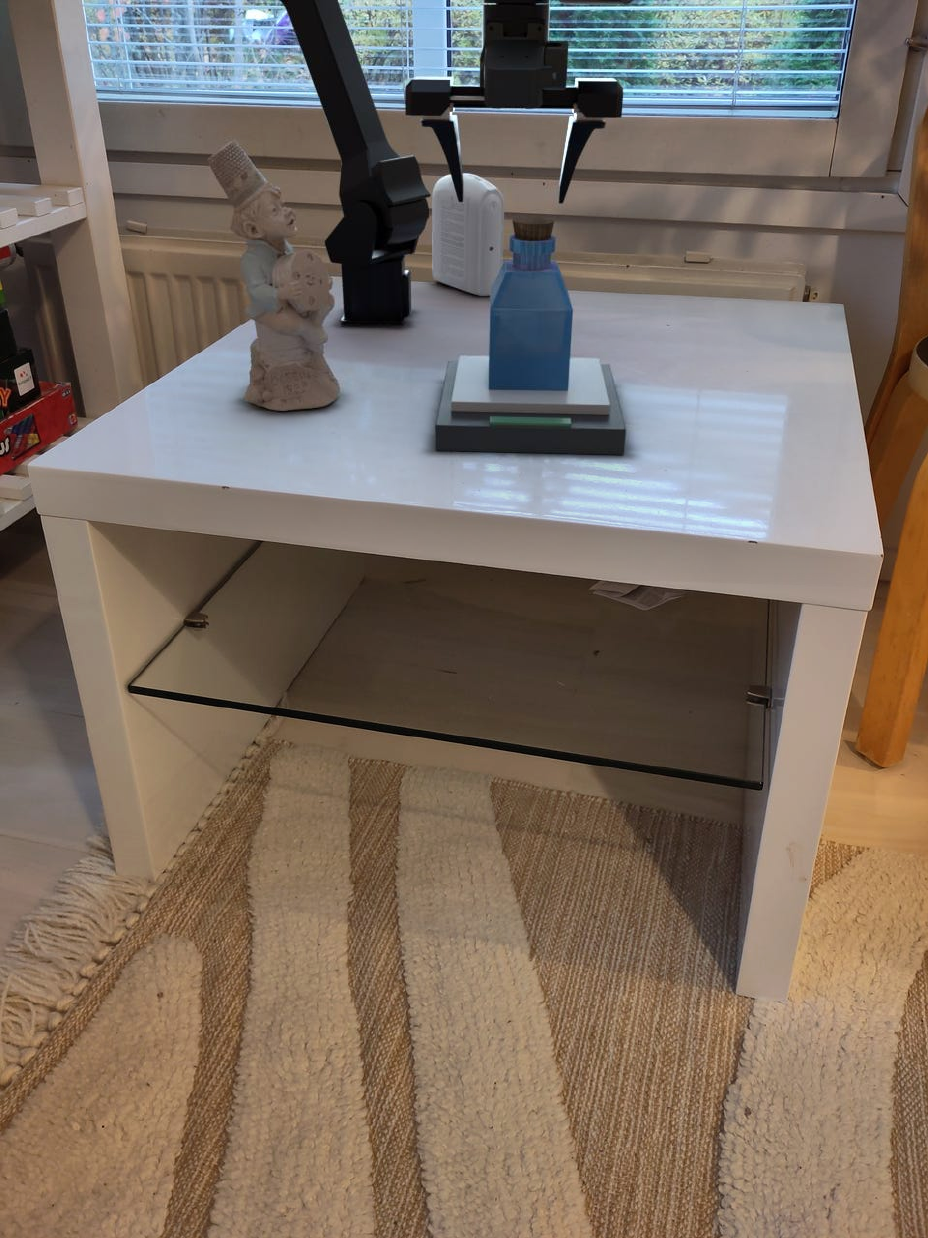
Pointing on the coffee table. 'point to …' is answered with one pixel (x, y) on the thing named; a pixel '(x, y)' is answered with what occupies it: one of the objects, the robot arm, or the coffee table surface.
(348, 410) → the coffee table surface
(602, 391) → the scale
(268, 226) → the figurine
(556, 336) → the perfume bottle
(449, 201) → the photo printer
